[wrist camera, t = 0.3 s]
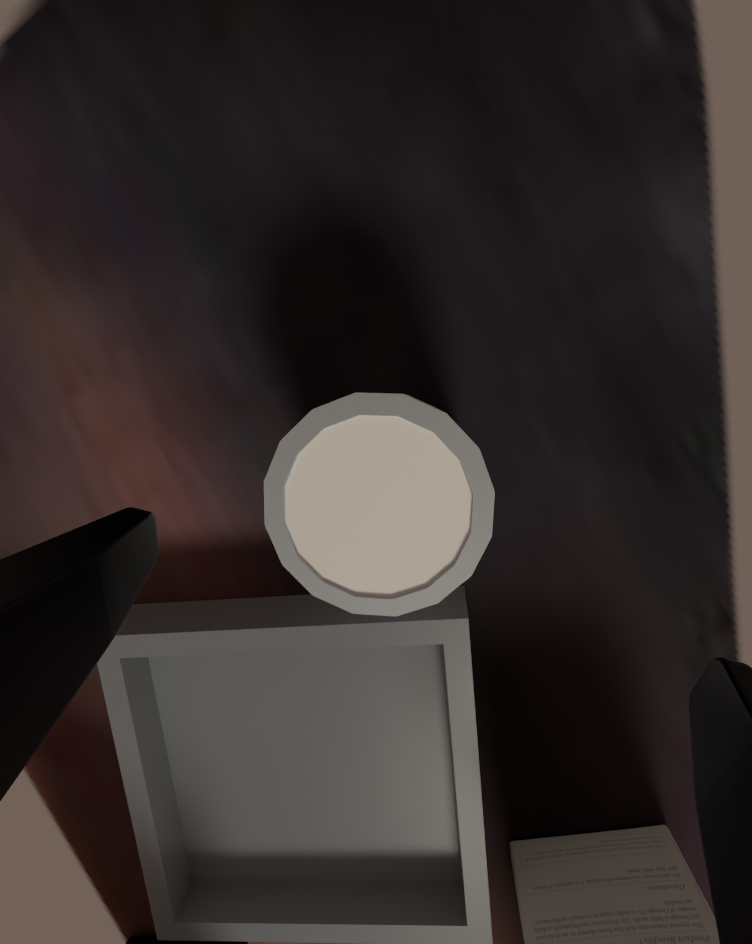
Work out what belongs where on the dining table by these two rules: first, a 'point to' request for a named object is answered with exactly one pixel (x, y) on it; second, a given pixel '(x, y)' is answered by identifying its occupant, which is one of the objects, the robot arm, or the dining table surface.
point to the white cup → (379, 504)
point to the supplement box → (609, 890)
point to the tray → (302, 770)
